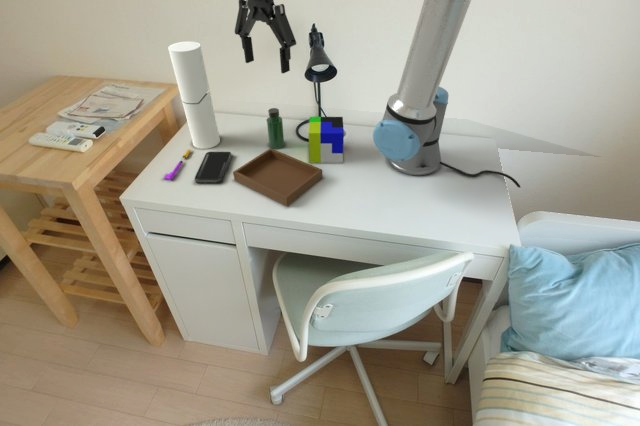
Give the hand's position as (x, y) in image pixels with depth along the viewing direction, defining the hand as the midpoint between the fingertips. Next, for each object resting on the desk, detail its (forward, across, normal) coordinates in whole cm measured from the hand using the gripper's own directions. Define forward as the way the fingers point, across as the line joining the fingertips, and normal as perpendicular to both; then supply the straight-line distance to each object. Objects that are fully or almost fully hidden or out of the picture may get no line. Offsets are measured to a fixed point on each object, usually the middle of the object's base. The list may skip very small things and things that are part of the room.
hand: (267, 66), depth 107 cm
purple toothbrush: (+25, +15, +27) cm, 39 cm away
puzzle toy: (+25, -17, -4) cm, 31 cm away
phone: (+25, +5, +22) cm, 33 cm away
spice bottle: (+25, -1, +1) cm, 25 cm away
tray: (+25, -14, +15) cm, 32 cm away
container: (+25, +19, +13) cm, 33 cm away
